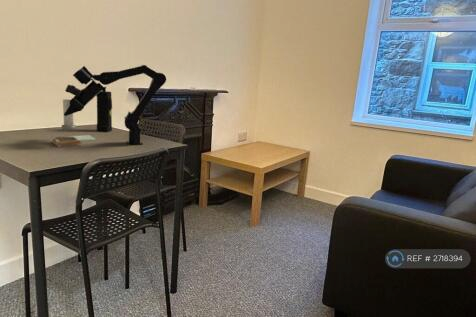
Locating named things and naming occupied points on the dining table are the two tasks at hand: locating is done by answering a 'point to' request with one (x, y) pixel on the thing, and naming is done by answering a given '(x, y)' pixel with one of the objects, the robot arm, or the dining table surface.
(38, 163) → the dining table surface
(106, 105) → the portable radio
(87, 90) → the robot arm
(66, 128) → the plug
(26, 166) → the dining table surface
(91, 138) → the pad
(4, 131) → the dining table surface
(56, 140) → the brown wooden square tray
